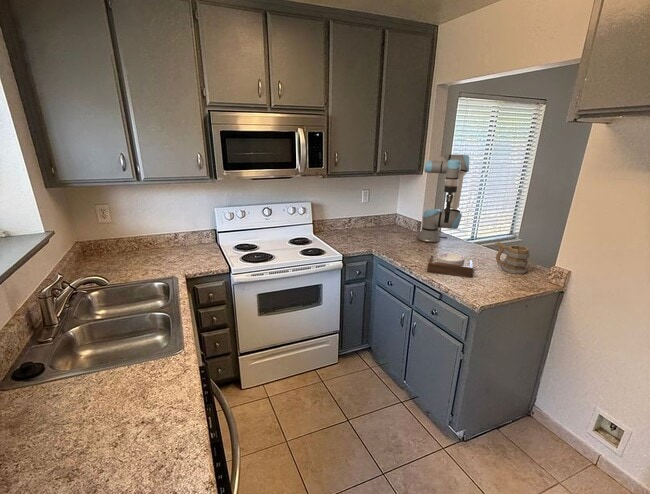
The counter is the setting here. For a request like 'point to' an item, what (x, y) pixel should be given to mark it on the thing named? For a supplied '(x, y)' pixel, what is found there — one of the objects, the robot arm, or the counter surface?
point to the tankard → (513, 258)
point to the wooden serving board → (450, 268)
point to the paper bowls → (451, 259)
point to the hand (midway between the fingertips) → (446, 222)
